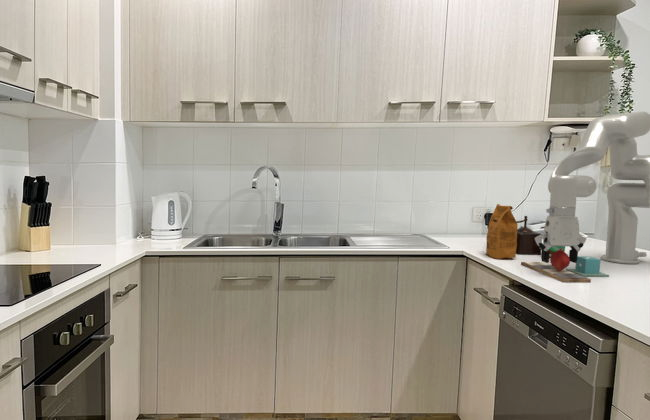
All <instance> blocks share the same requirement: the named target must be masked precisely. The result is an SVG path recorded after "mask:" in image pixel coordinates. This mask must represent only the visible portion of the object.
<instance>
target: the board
mask: <svg viewBox="0 0 650 420" xmlns="http://www.w3.org/2000/svg"><path fill="white" fill-rule="evenodd" d="M520 265H521V266H523V267H526V268H529V269H531V270H533V271H535V272H537V273H540V274H542V275H545V276H547V277H550V278H552V279H555V280H557V281H558V282H562V283H591V282H592V279H591V278H590V277H584V276H581V275H578V274H575V273H573V272H570V271H567V270H566V269H563V270H562V271H557V269H555V268H554V267H553V266H552V265H551V263H549V262H548V263H546V262H543V261H521V262H520Z"/></svg>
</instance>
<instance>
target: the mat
mask: <svg viewBox="0 0 650 420" xmlns="http://www.w3.org/2000/svg"><path fill="white" fill-rule="evenodd" d="M565 270H567V271H570V272H573V273H575V274H578V275H581V276H584V277H586V278H609V277H610V275H609V274H607V273H605V272H604V273H603V272H601V271H600V272H599V274H584V273H582V272H579V271H576V270H575V268H565Z"/></svg>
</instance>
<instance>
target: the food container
mask: <svg viewBox="0 0 650 420" xmlns="http://www.w3.org/2000/svg"><path fill="white" fill-rule="evenodd" d="M542 241H543V240H542ZM542 243H544V241H543V242H542ZM560 248H562V249H563V251H564V252H565V253H566V246H551V247H550V248H549V250H548V251H549V252H550V253H549V259H550V257H551V256H552V254H553V253H554V252H556V251H558V250H559V249H560Z"/></svg>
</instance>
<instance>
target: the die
mask: <svg viewBox="0 0 650 420" xmlns="http://www.w3.org/2000/svg"><path fill="white" fill-rule="evenodd" d="M600 268H601V258H596V257H593V256H588V255H587V256H586V255H585V256H582V255H581V256H580V255H579V256H578V258H577V263H575V268H574V269H575V270H576V271H579V272H582V273H584V274H599V272H601V271H600Z"/></svg>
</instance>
